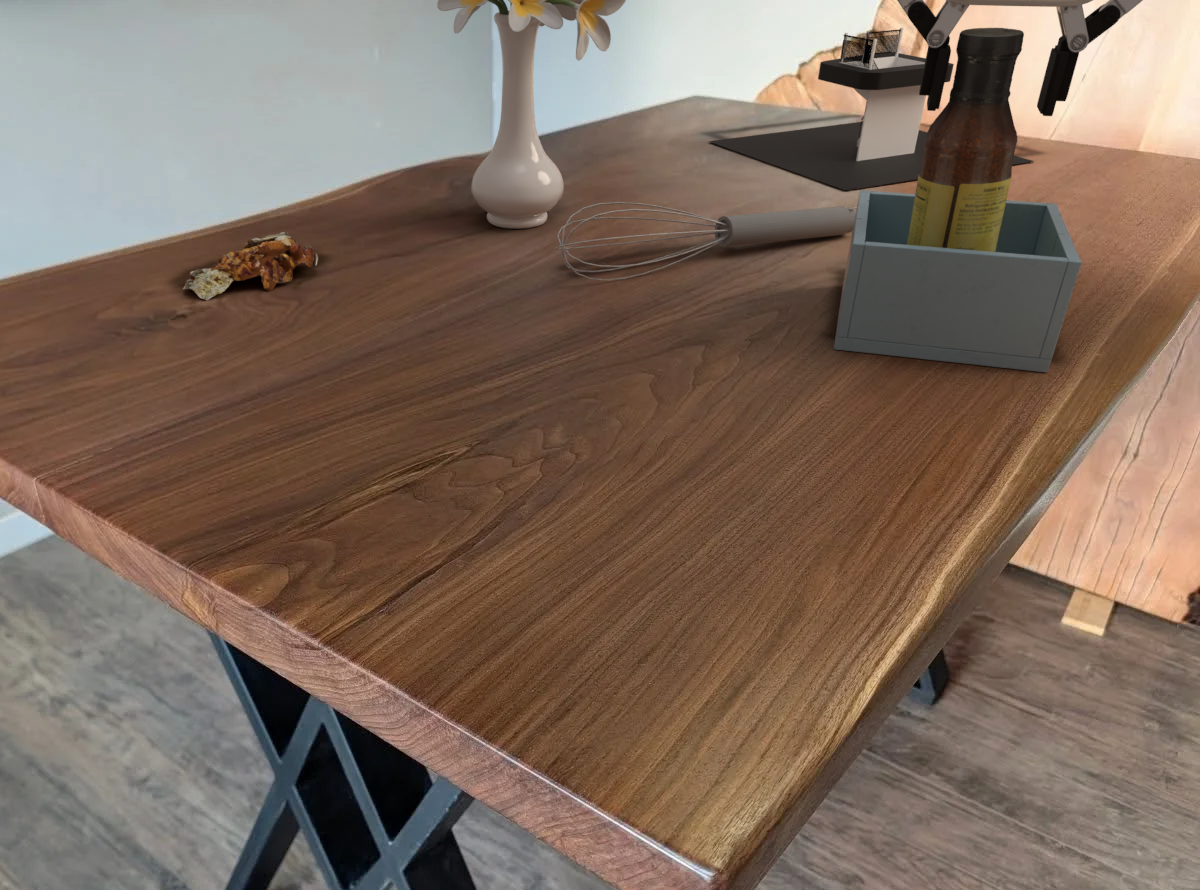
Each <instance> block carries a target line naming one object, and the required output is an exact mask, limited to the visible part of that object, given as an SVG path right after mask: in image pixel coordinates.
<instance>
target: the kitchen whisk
mask: <svg viewBox="0 0 1200 890" xmlns="http://www.w3.org/2000/svg"><path fill="white" fill-rule="evenodd" d="M617 204H619V205H636V206H637V205H638V206H643V207H644V206H645V207H652V208H658V209H646V208H645V209H643V208H641V209H640V208H631V209H618V210H616V209H615V210H611V211H606V212H603V213H597V214H595V215H593V216H591V217H588V218H583V219H578V220H573V221H571V219H572V218H573V217H574V216H576V215H577V214H579V213H581V212H582V211H583V210H586V209H587V210H588V209H590V208H593V207H597V206H604V205H605V206H606V205H617ZM660 209H662V210H660ZM663 209H664V210H663ZM855 210H857V206H855V207H845V206H842V205H840V206H830V207H829V206H828V207H818V208H817V207H816V208H805V209H793V210H781V211H772V212H771V211H769V212H758V213H757V212H756V213H749V214H747V213H745V214H734V215H722V216H720V217H719V218H718V219H717V220H716V219H713V218H709V217H706V216H703V215H699V214H696V213H692V212H688V211H683V210H680V209H676V208H671V207H666V206H660V205H655V204H648V203H642V202H641V203H640V202H628V201H627V202H626V201H625V202H624V201H613V202H600V203H596V204H592V205H588V206H584V207H582V208H580V209H578V210H577V211H576V212H575V213H573V214H571V215H570V216H569V218H568V220H567V221H566V223H565V225H563V226H561V227H560V229H559V231H558V233H557V234H556V235H557V239H558V242H559V245H558V246H556V247H554V248H555V250H561V261H562V262H563V264H564V265H565V267H566V268H567V269H570V270H572V271H573V272H574V273H575V274H576V275H578V276H580V277H583V278H586V279H588V280H591V281H601V282H602V281H604V282H609V281H611V282H612V281H619V280H627V279H632V278H635V277H640V276H645V275H647V274H649V273H653V272H656V271H659V270H662V269H665V268H667V267H669V266H673V265H675V264H678V263H680V262H682V261H684V260H687V259H690V258H691V257H694V256H696V255H698V254H700V253H703V252H705V251H707V250H708V249H711V248H712V247H715V245H719V246H721V247H733V246H735V247H736V246H743V245H745V246H746V245H754V244H755V245H756V244H763V243H764V244H765V243H775V242H783V241H785V242H786V241H794V240H804V239H815V238H825V237H836V236H843V235H845V234H846V233H852V232H853V226H854V221H855V215H856V211H855ZM621 212H622V213H623V212H656V213H665V214H671V215H678V216H679V215H680V216H685V217H690V218H693V219H694V218H695V219H699V220H704V221H707V222H712V223H715V224H710V223H701V222H693V221H685V220H676V219H664V218H652V217H637V216H636V217H635V216H634V217H633V216H604V215H609V214H614V213H621ZM600 216H602V217H600ZM605 219H607V220H611V219H612V220H615V219H618V220H620V219H621V220H622V219H627V220H648V221H660V222H672V223H682V224H690V225H699V226H705V227H706V226H707V227H714V229H713V230H711V229H709V230H693V231H692V230H691V231H678V232H662V233H661V232H660V233H649V234H636V235H635V234H634V235H624V236H615V237H605V238H596V239H588V240H582V241H575V242H571V243H567V242H568V240H569V238H570V236H571V234H572V233H573V232H574V231H575V230H577V229H578V228H579V227H580V226H581V225H582V224H583V223H586V222H588V221H594V220H605ZM575 223H578V224H577V225H576V226H575V227H574V228H572V229H571V230H570V232H569V233H568V235H567V237H566V238H565V229H566V227H568V226H570V225H572V224H575ZM561 232H562V237H561V238H560V234H561ZM682 234H686V235H682ZM666 235H680V236H671V237H662V238H654V239H646V240H644V239H643V240H635V241H625V242H617V243H615V242H614V243H607V244H605V243H604V244H597V245H585V246H573V247H568V246H572V245H578V244H585V243H592V242H599V241H608V240H618V239H629V238H630V239H631V238H639V237H652V236H666ZM708 235H714V239H711V240H708V241H706V242H703V243H700V244H697V245H695V246H692V247H688V248H685V249H682V250H680V251H677V252H674V253H670V254H667V255H663V256H660V257H656V258H654V259H650V260H647V261H642V262H638V263H631V264H630V263H629V264H621V265H605V264H603V265H602V264H596V263H592V262H585V261H584V260H582V259H579V258H578V257H576V256H574V255H572V254H571V253H570V251H568V250H576V249H588V248H589V249H590V248H599V247H609V246H618V245H629V244H637V243H638V244H639V243H647V242H657V241H665V240H673V239H674V240H675V239H682V238H692V237H699V236H708ZM702 248H703V249H702ZM700 249H701V250H700ZM697 250H699V251H697ZM694 251H697V252H694ZM690 252H694V253H692V254H690V255H688V256H686V257H683V258H681V259H679V260H676V261H673V262H671V263H669V264H666V265H663V266H660V267H658V268H654V269H651V270H649V271H645V272H641V273H638V274H634V275H629V276H625V277H615V278H608V279H607V278H595V277H589V276H587V275H585V274H582V273H603V272H611V271H616V270H622V269H627V268H631V267H636V266H641V265H646V264H651V263H656V262H660V261H664V260H668V259H672V258H675V257H679V256H682V255H685V254H688V253H690ZM567 255H568V256H569V257H570V258H572V259H573V260H576V261H577V262H580V263H582V264H585V265H590V266H593V267H594V266H595V267H600V268H607V269H599V270H598V269H597V270H584V269H583V270H582V269H577V268H574V267H573V266H572V265H571V264H570V262H569V261H568V258H567ZM609 268H610V269H609Z"/></svg>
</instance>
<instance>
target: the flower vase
mask: <svg viewBox="0 0 1200 890" xmlns="http://www.w3.org/2000/svg"><path fill="white" fill-rule="evenodd" d="M507 1H508V2H509V3H510V4H509V5H510V6H509V8H508V6H507V4H506V1H505V0H437V4H436V5H437V6H436V8H437V9H438V10H439V11H441V12H447V11H452V10H456V9H458V12H457V13H456V15H455V17H454V20H453V33H454V34H459V33H460V32H462V30H463V29H464V28H465V26H466V25H467V23H468V22H469V20H470V19H471V17H472V15H473V14H474V13H476V12H477V11H478V10H479V9H480V8H481V7H482V6H484V5H485V4H487V3H488V2H489V3H491V4H493V5H495V6H496V7H497V9H498V12H496V13H495V14H494V16H493V21H494V23H495V25H496V28H497V30H498V36H499V42H500V44H499V45H500V51H501V63H502V64H501V65H502V67H501V68H502V76H501V77H502V80H501V109H500V120H499V126H498V132H497V136H496V138H495V141H494V144H493V146H492V149H491V151H490V152H489V153H488V155H487V156H486V157H485V158H484V159H483V161H481V163H480V164H479V165H478V167H477V168H476V170H475V172H474V174H473V176H472V178H471V179H472V180H471V184H470V192H471V193H470V194H471V196H472V197H473V199H474V201H475V203H476V205H478V206H479V208H481V209H482V210H483V211H485V212H486V213H487V214H486V220H487V221H488V224H491V225H492V226H495V227H498V228H503V229H515V230H517V229H518V230H521V229H530V228H536V227H539V226H541V225H543V224H545V223H546V222H547V220H548V217H549V216H548V213H547V212H550V211H551V210H552V209H553V208H554V207H555V206H556V205H557V204H558V203H559V202H560V200H561V198H562V197H563V193H564V188H565V186H564V185H565V184H564V180H563V176H562V173H561V172H560V169H559V168H558V166H557V165H556V164H555V162H554V161H553V160H552V159H551V158H550V157H549V156H548V154H547V153H546V152H545V150H544V148H543V145H542V142H541V140H540V137H539V134H538V129H537V125H536V115H535V92H534V90H535V89H534V88H535V87H534V64H535V53H536V52H535V51H536V44H537V39H538V32H539V29H540V28H539V27H544V26H546V27H547V28H550V29H552V30H561V28H562V27H564V20H566V21H570V22H573V21H576V26H577V27H576V29H577V35H576V46H575V59H576V60H577V61H578V62H579V61H581V60H582V59H583V58H584V56H585V54H586V53H587V50H588V48H589V44H590V38H591V40H592V41H593V43H594V44H595V46H596V48H597V49H599V51H601V52H606V51H607V50H608V49H609V48H610V46H611V40H612V36H611V29H610V26H609V24H608V22H607V21H606V19H604V18H603V17H608V16H611V15H613V14H615V13H616V12H618V11H619V10H620V9H621V8H622V7H623V6H624V5H625V3H626V1H627V0H507ZM602 16H603V17H602Z"/></svg>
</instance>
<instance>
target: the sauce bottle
mask: <svg viewBox="0 0 1200 890" xmlns="http://www.w3.org/2000/svg"><path fill="white" fill-rule="evenodd" d="M1024 37H1025V32H1024V31H1023V30H1020V29H1017V28H1016V29H1015V28H1008V27H973V28H968V29H967V28H965V29H963V30H961V31H960V32H959V36H958V40H957V44H956V49H955V51H956V55H957V60H956V67H955V74H954V76H953V78H954V79H953V84H952V88H951V89H950V91H949V98H948V99H949V100H948V102H947V103H946V106H944V108H943V109H942V111H941V112H940V113H939V115H937V116H936V117H935V119H934V121H933V122H932V123H931V124H930V126H929V128H928V130H927V131H926V132H927V137H926V143H925V148H924V154H923V160H922V166H921V171H920V172H919V175H918V179H917V180H916V181H917V182H916V188H915V193H914V194H915V199H914V205H913V211H912V217H911V223H910V229H909V234H908V240H907V245H915V246H927V247H940V248H952V249H964V250H977V251H989V252H995V251H996V246H997V241H998V236H999V232H1000V227H1001V223H1002V218H1003V214H1004V209H1005V204H1006V200H1008V194H1009V190H1010V185H1011V180H1012V175H1013V174H1012V172H1013V165H1012V161H1013V157H1014V156H1015V152H1016V147H1017V143H1018V132H1017V129H1016V127H1015V123H1014V118H1013V114H1012V111H1011V106H1010V102H1009V98H1010V96H1011V87H1012V81H1013V75H1014V71H1015V67H1016V63H1017V59H1018V57H1019V56H1020V54H1021V52H1022V50H1023V49H1022V47H1023V42H1024Z"/></svg>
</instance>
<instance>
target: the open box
mask: <svg viewBox="0 0 1200 890" xmlns="http://www.w3.org/2000/svg"><path fill="white" fill-rule="evenodd" d="M914 199H915V193H908V192H893V191H881V190H880V191H878V190H865V189H864V190H861V189H860V191H859V193H858V200H857V205H856V207H857V209H855V210H856V211H855V213H856V215H855V221H854V226H853V230H852V231H851V238H850V244H849V247H848V255H847V260H846V265H845V271H844V276H843V282H842V289H841V296H840V301H839V302H840V303H839V310H838V317H837V323H836V330H835V338H834V345H833V350H835V351H845V352H855V353H863V354H873V355H881V356H882V355H883V356H892V357H900V358H909V359H919V360H927V361H936V362H937V361H938V362H947V363H955V364H956V363H957V364H962V365H963V364H965V365H974V366H982V367H991V368H992V367H993V368H1001V369H1010V370H1019V371H1029V372H1038V373H1046V374H1047V373H1049V370H1050V366H1051V363H1052V360H1053V357H1054V354H1055V350H1056V347H1057V344H1058V341H1059V337H1060V334H1061V331H1062V328H1063V324H1064V322H1065V318H1066V315H1067V312H1068V309H1069V305H1070V301H1071V299H1072V295H1073V292H1074V289H1075V286H1076V282H1077V279H1078V276H1079V272H1080V269H1081V266H1082V260H1081V257H1080V256H1079V253H1078V250H1077V249H1076V246H1075V244H1074V241H1073V239H1072V237H1071V235H1070V232H1069V229H1068V226H1067V225H1066V223H1065V220H1064V218H1063V216H1062V214H1061V211H1060V208H1059V206H1058V204H1057V203H1053V202H1041V201H1025V200H1012V199H1011V200H1009V199H1007V200H1006V204H1005V209H1004V214H1003V218H1002V223H1001V227H1000V232H999V236H998V241H997V246H996V251H995V252H989V251H977V250H964V249H952V248H940V247H927V246H915V245H907V240H908V234H909V229H910V223H911V217H912V211H913V205H914Z"/></svg>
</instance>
